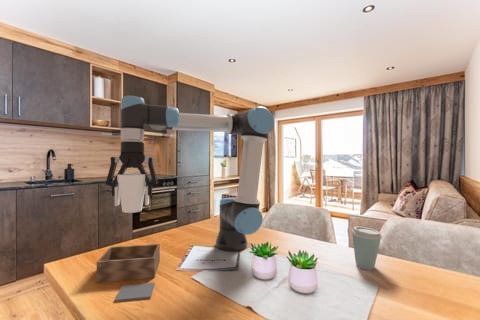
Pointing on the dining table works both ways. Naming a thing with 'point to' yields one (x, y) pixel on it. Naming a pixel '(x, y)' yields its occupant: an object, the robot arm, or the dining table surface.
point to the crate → (128, 263)
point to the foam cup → (131, 191)
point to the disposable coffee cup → (366, 246)
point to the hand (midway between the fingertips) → (132, 204)
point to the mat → (135, 292)
